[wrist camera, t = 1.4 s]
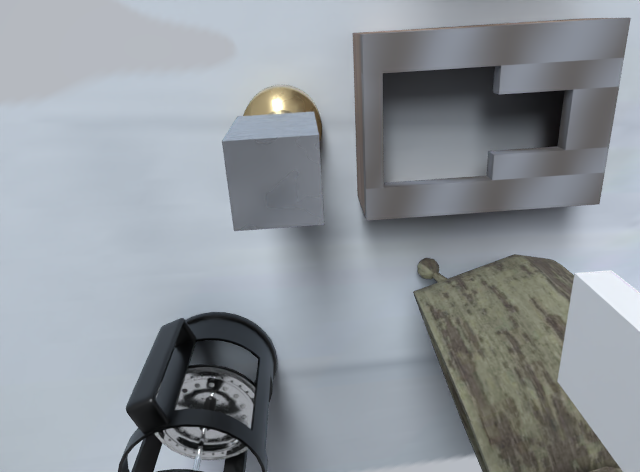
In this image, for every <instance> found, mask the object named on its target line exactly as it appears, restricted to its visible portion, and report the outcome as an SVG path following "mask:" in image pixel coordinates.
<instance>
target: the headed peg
mask: <svg viewBox="0 0 640 472" xmlns="http://www.w3.org/2000/svg"><path fill="white" fill-rule="evenodd" d="M321 135H322V124H321V119H320V115H319V112H318V109H317V107H316V105H315V103H314V102H313V101H312V99H311V98H310V97H309V96H308V95H307V94H306V93H304V92H303V91H301V90H300V89H298V88H295V87H292V86H288V85H275V86H271V87H268V88H265V89H264V90H262V91H260V92H259V93H258V94H256V95H255V96H254V98H253V99H252V100H251V101H250V103H249V105H248V106H247V108H246V110H245V112H244V115H243V116H238V117H237V118H236V119H235V121H234V123H233V124H232V126H231V128H230V129H229V131H228V132H227V134H226V136H225V137H224V139H223V140H222V145H223V152H224V160H225V167H226V175H227V182H228V190H229V197H230V205H231V212H232V219H233V227H234V231H242V230H256V229H270V228H284V227H298V226H312V225H324V212H323V195H322V177H321V160H320V140H321Z"/></svg>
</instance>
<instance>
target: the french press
mask: <svg viewBox="0 0 640 472" xmlns="http://www.w3.org/2000/svg"><path fill="white" fill-rule="evenodd" d="M204 340H220V341H225V342H230V343H233V344H235V345H238V346H241V347H243V348H244V349H246V350H248V351H249V352H251V353H252V354H253V355H254V356H255V357H257V358H258V367H257V376H256V380H255V382H254V383H253V382H252V381H251V380H250V379H248V378H247V377H246V376H244V375H242V374H241V373H239V372H237V371H235V370H232V369H229V368H226V367H223V366H217V365H208V364H199V365H191V366H189V363H190V360H191V357H192V354H193V351H194V347H195V344H196V341H204ZM276 365H277V357H276V352H275V348H274V346H273V344H272V342H271V340H270V338H269V337H268V336H267V334H266V333H265V332H264V331H263V330H262V329H261V328H260V327H259V326H258V325H256V324H255V323H253V322H252V321H250V320H248V319H246V318H244V317H241V316H238V315H235V314H230V313H225V312H210V313H203V314H199V315H196V316H193V317H191V318H189V319H187V320H185V319H184V318H180V319H178V320H176V321H173V322H171V323H168V324H166V325H164V326H162V327H161V329H160V331H159V333H158V335H157V338H156V340H155V342H154V344H153V347H152V349H151V351H150V354H149V356H148V358H147V360H146V363H145V365H144V367H143V369H142V372H141V374H140V376H139V379H138V381H137V383H136V385H135V388H134V390H133V392H132V394H131V397H130V399H129V401H128V404H127V406H126V411H127V413H128V415H129V416H130V417H131V419H132V420H133V421H134V422H135V424H136V425H137V426H138V429H137V430H136V431H135V433H134V434H133V435H132V436H131V438H130V440H129V442H128V444H127V446H126V449H125V451H124V454H123V456H122V459H121V461H120V464H119V469H118V472H129V469H128V461H127V456H128V453H129V452H130V451H131V450H132V448H133V447H134V446H135V445H136V444H138V443H139V442H140V441H142V440H143V442H142V444H141V447H140V450H139V453H138V455H137V458H136V461H135V464H134V466H133V469H132V472H153V471H154V468H155V465H156V461H157V458H158V455H159V452H160V449H161V446H162V443H163V444H164V445H165V446H167V447H168V448H170V449H171V450H173V451H175V452H177V453H179V454H181V455H184V456H187V457H190V458H194V459H195V462H194V466H193V470H189V469H171V470H164V471H158V472H202V471H198V470H199V466H200V461H201V460H219V459H225V465H224V471H223V472H245V468H246V459H247V450H248V448H249V449H250V451H251V452H252V453H253V454H254V455H255V456H256V458H257V460H258V462H259V464H260V466H261V468H262V472H267V466H268V459H267V455H266V450H265V449H266V435H267V420H268V406H269V402H270V399H271V395H272V387H273V379H274V376H275V372H276Z"/></svg>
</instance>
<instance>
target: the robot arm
mask: <svg viewBox="0 0 640 472" xmlns="http://www.w3.org/2000/svg"><path fill="white" fill-rule="evenodd" d="M557 382H558V383H559V384H560V386H561V387H562V388H563V390H564V391H565V393H566V394H567V395H568V397H569V398H570V399H571V401H572V402H573V404H574V405H575V406H576V408H577V409H578V410H579V412H580V413H581V415H582V416H583V417H584V419H585V420H586V421H587V423H588V424H589V426H590V427H591V428H592V430H593V431H594V432H595V434H596V435H597V437H598V438H599V439H600V441H601V442H602V444H603V445H604V446H605V448H606V449H607V450H608V452H609V453H610V455H611V456H612V457H613V459H614V460H615V461H616V463H617V464H618V466H619V467H620V468H621V470H622V471H623V472H640V292H638V291H637V290H636V289H635V288H633V287H632V286H631V285H629V284H628V283H627V282H626V281H624V280H623V279H622V278H621V277H619V276H618V275H617V274H616V273H614V272H613V271H612V270H610V271H596V272H581V273H575V274H574V280H573V287H572V293H571V299H570V305H569V312H568V318H567V324H566V331H565V337H564V343H563V349H562V356H561V362H560V368H559V375H558V381H557Z"/></svg>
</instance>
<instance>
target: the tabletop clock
mask: <svg viewBox="0 0 640 472" xmlns="http://www.w3.org/2000/svg"><path fill="white" fill-rule="evenodd" d="M417 267H418V273H419V274H420V276H421V277H422V278H425V279H433V278H434V279H435V280H436V281H437V282H438V283H436V284H433V285H430V286H427V287H425V288H422V289H419V290H417V291H414V292H413V293H414V296H415V299H416V302H417V304H418V307H419V310H420V312H421V315H422V318H423V320H424V323H425V326H426V329H427V331H428V334H429V337H430V339H431V342H432V345H433V347H434V350H435V353H436V355H437V358H438V360H439V363H440V366H441V368H442V371H443V374H444V376H445V379H446V382H447V384H448V387H449V389H450V392H451V395H452V397H453V400H454V402H455V405H456V408H457V410H458V413H459V415H460V418H461V420H462V423H463V425H464V428H465V430H466V433H467V435H468V437H469V440H470V442H471V445H472V447H473V450H474V452H475V454H476V457H477V459H478V462H479V464H480V466H481V469H482V471H483V472H623V471H622V470H621V468H620V467H619V466H618V464H617V463H616V461H615V460H614V459H613V457H612V456H611V455H610V453H609V452H608V450H607V449H606V448H605V446H604V445H603V444H602V442H601V441H600V439H599V438H598V437H597V435H596V434H595V432H594V431H593V430H592V428H591V427H590V426H589V424H588V423H587V421H586V420H585V419H584V417H583V416H582V415H581V413H580V412H579V410H578V409H577V408H576V406H575V405H574V404H573V402H572V401H571V399H570V398H569V397H568V395H567V394H566V393H565V391H564V390H563V388H562V387H561V386H560V384H559V383H558V382H557V381H558V375H559V368H560V362H561V356H562V349H563V343H564V337H565V331H566V324H567V318H568V312H569V305H570V299H571V293H572V287H573V280H574V275H573V274H572V273H570V272H569V271H568V270H567V269H566V268H564V267H563V266H562V265H560V264H559V263H557V262H556V261H554V260H550V259H545V258H537V257H530V256H522V255H515V254H514V255H512V256H509V257H506V258H503V259H501V260H498V261H495V262H493V263H490V264H487V265H484V266H482V267H479V268H476V269H474V270H471V271H468V272H465V273H463V274H460V275H457V276H455V277H452V278H449V279H447V278H446V277H444V276H443V275H441V274H440V273H438V272H439V265H438V264H437V262H436V261H435V260H434V259H429V258H425V259H423V260H421V261H420V262H419V264H418V266H417Z"/></svg>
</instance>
